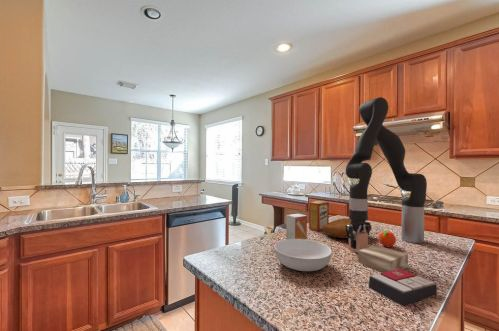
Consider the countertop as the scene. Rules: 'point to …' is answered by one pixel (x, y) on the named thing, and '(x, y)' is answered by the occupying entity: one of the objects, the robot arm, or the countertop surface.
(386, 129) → the robot arm
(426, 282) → the grey and red box
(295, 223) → the small box
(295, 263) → the serving bowl
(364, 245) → the terracotta block
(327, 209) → the baking soda box
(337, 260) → the countertop surface
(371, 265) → the birch block
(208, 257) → the countertop surface
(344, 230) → the clay tablet
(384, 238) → the clementine
